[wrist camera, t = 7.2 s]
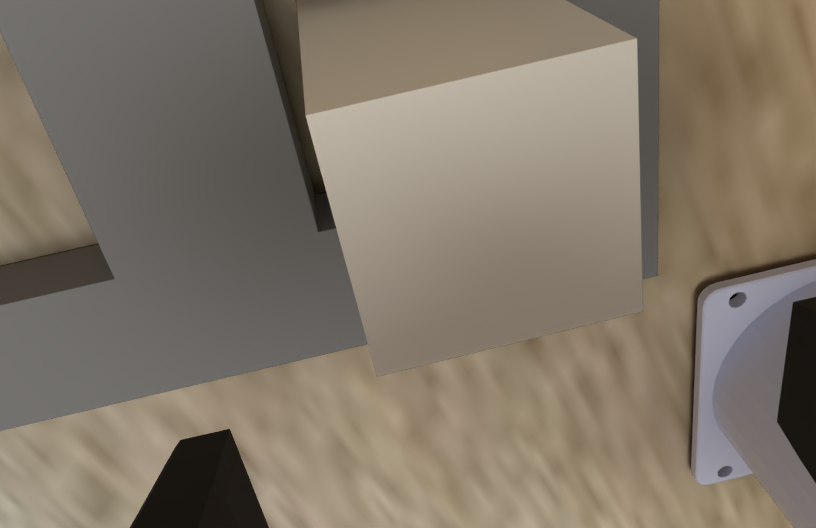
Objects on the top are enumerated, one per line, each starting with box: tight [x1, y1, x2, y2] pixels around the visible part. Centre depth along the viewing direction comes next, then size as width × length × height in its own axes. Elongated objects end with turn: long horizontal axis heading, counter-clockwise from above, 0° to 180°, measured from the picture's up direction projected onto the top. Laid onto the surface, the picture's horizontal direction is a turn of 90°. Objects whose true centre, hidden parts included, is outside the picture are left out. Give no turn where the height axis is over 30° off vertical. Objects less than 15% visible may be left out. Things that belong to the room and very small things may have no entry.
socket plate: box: [0, 0, 659, 431], centre depth 15 cm, size 20×14×2 cm
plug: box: [296, 0, 643, 377], centre depth 13 cm, size 4×4×8 cm
